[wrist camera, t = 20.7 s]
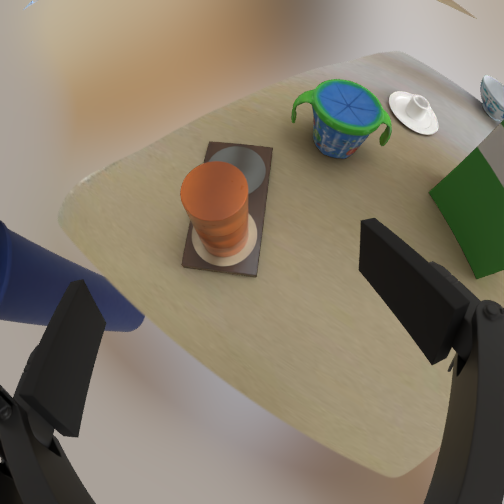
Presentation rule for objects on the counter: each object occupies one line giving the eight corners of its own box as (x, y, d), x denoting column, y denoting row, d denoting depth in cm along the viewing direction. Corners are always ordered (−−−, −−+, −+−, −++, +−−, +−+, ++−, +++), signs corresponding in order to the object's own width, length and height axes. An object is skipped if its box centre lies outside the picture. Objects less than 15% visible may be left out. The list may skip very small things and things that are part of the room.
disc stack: (196, 254, 38) (173, 217, 26) (205, 209, 40) (188, 158, 28) (245, 260, 38) (243, 225, 26) (251, 215, 40) (252, 164, 27)
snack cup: (280, 151, 44) (287, 108, 34) (296, 108, 47) (304, 66, 37) (372, 183, 43) (398, 147, 33) (378, 136, 46) (400, 100, 36)
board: (183, 267, 39) (181, 265, 38) (209, 145, 44) (209, 140, 43) (256, 277, 39) (256, 275, 38) (272, 151, 44) (272, 147, 43)
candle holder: (389, 86, 50) (396, 72, 46) (436, 109, 49) (444, 98, 45) (385, 119, 47) (393, 105, 43) (437, 146, 46) (447, 134, 42)
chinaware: (515, 139, 49) (529, 125, 42) (484, 125, 49) (499, 108, 42) (495, 100, 53) (507, 85, 46) (463, 85, 53) (475, 68, 46)
